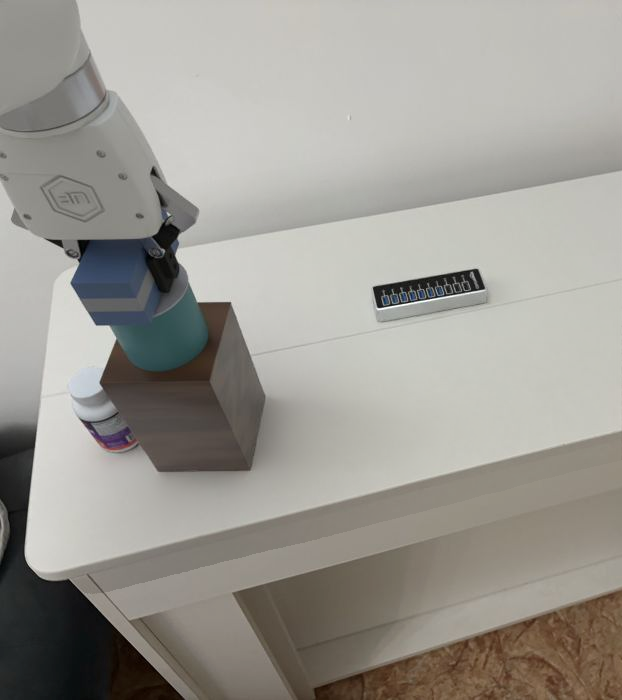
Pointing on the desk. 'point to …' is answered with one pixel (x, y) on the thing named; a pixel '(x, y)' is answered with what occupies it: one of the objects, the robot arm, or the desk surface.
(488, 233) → the desk surface
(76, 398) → the pill bottle
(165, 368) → the yogurt pot
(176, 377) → the walnut crate
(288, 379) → the desk surface
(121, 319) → the block
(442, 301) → the multiport hub
